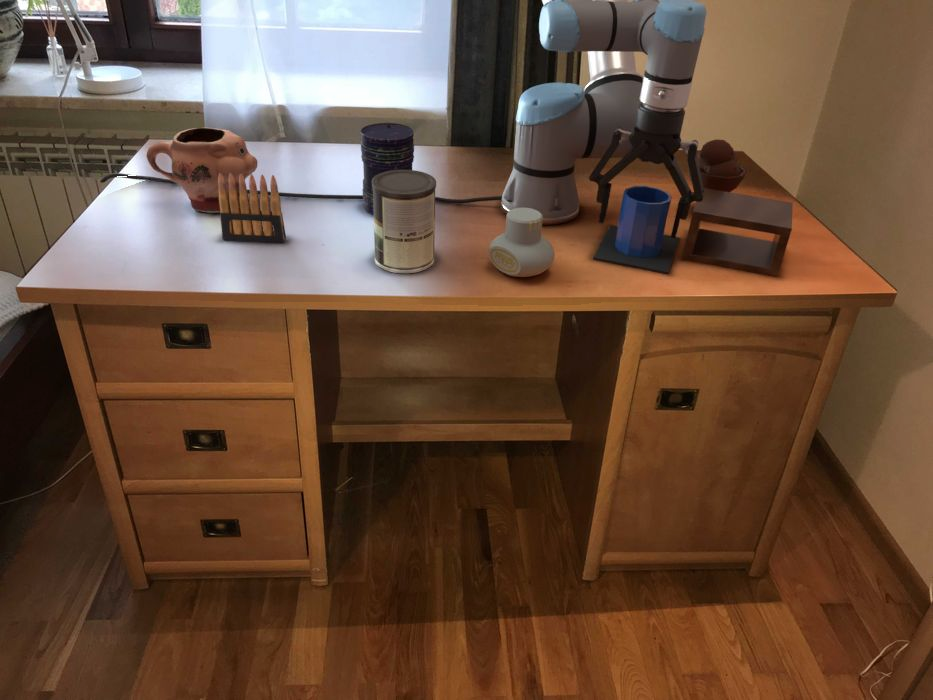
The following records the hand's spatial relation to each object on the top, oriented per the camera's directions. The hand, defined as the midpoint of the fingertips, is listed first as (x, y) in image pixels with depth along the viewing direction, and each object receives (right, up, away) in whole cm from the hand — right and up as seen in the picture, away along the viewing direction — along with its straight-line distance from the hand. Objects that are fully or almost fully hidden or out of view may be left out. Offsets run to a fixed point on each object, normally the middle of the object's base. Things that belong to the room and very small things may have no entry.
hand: (637, 227), depth 134 cm
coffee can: (-41, -7, -5) cm, 42 cm away
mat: (0, -4, +2) cm, 4 cm away
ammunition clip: (-67, -2, -1) cm, 68 cm away
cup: (0, -3, +1) cm, 4 cm away
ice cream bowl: (+18, +5, +17) cm, 25 cm away
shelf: (+17, -4, +2) cm, 18 cm away
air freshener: (-21, -8, -7) cm, 24 cm away
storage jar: (-45, +6, +13) cm, 48 cm away
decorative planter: (-79, +6, +10) cm, 80 cm away
